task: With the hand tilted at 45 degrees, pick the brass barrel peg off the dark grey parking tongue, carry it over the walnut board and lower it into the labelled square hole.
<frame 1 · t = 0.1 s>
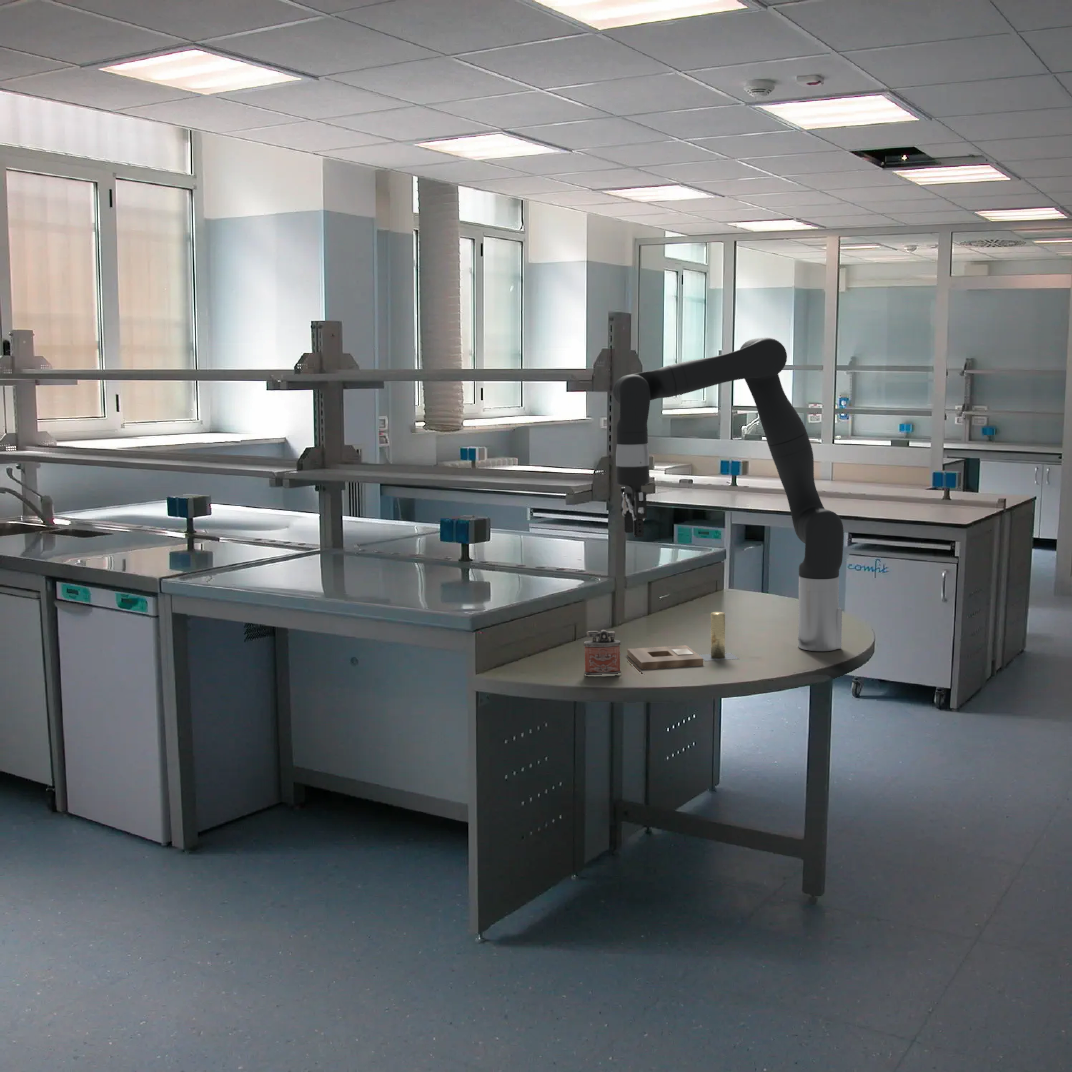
hand: (633, 534, 256), 29 cm above the table, tool pointing down, fingers open, 8 cm apart
hole board: (664, 666, 253), on the table
brass peg: (717, 656, 254), point 1 cm above the table, touching parking tongue
parking tongue: (718, 663, 254), on the table
lighter: (602, 675, 247), on the table
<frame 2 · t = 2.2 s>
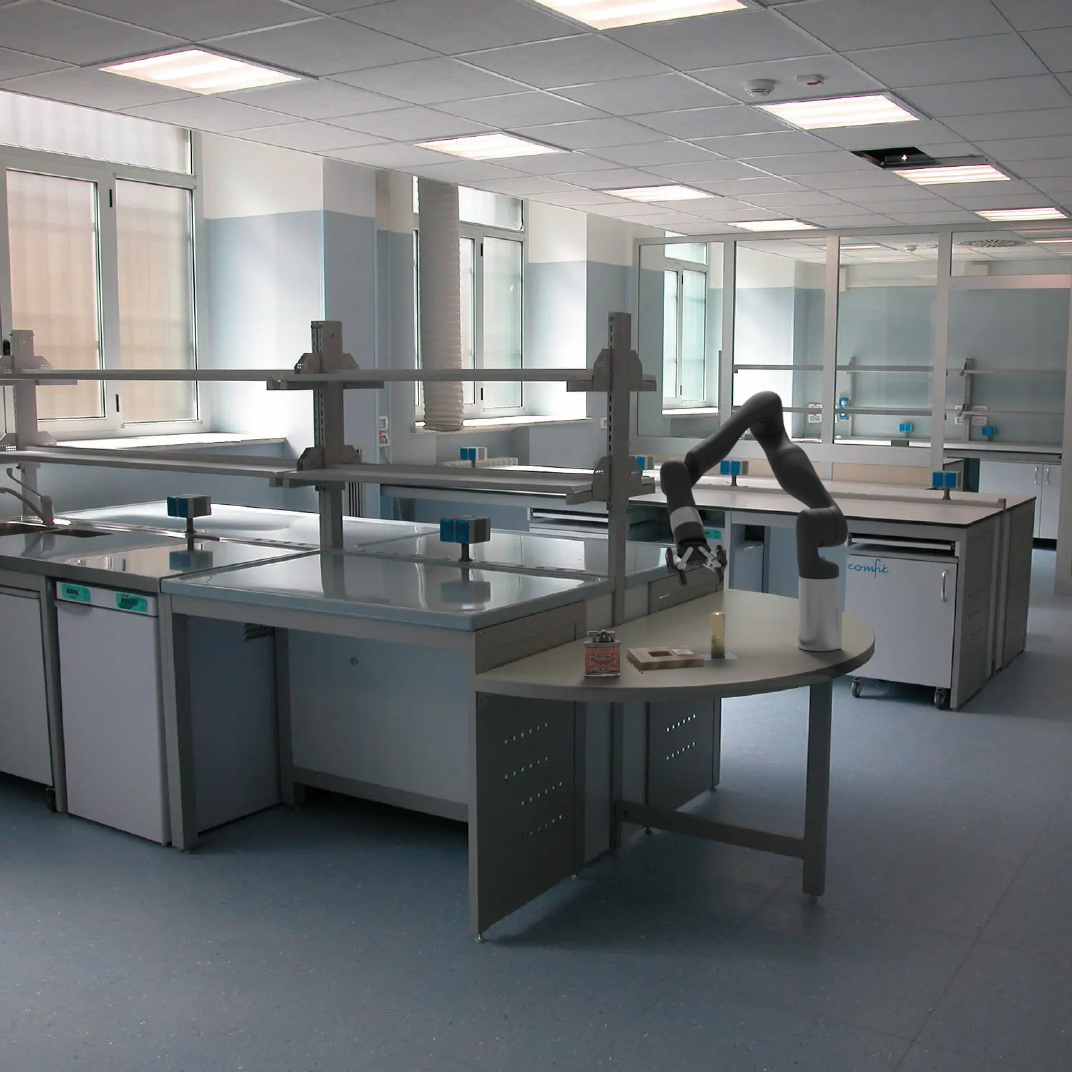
hand: (702, 584, 264), 16 cm above the table, tool tilted 45°, fingers open, 8 cm apart
nothing on the table moved.
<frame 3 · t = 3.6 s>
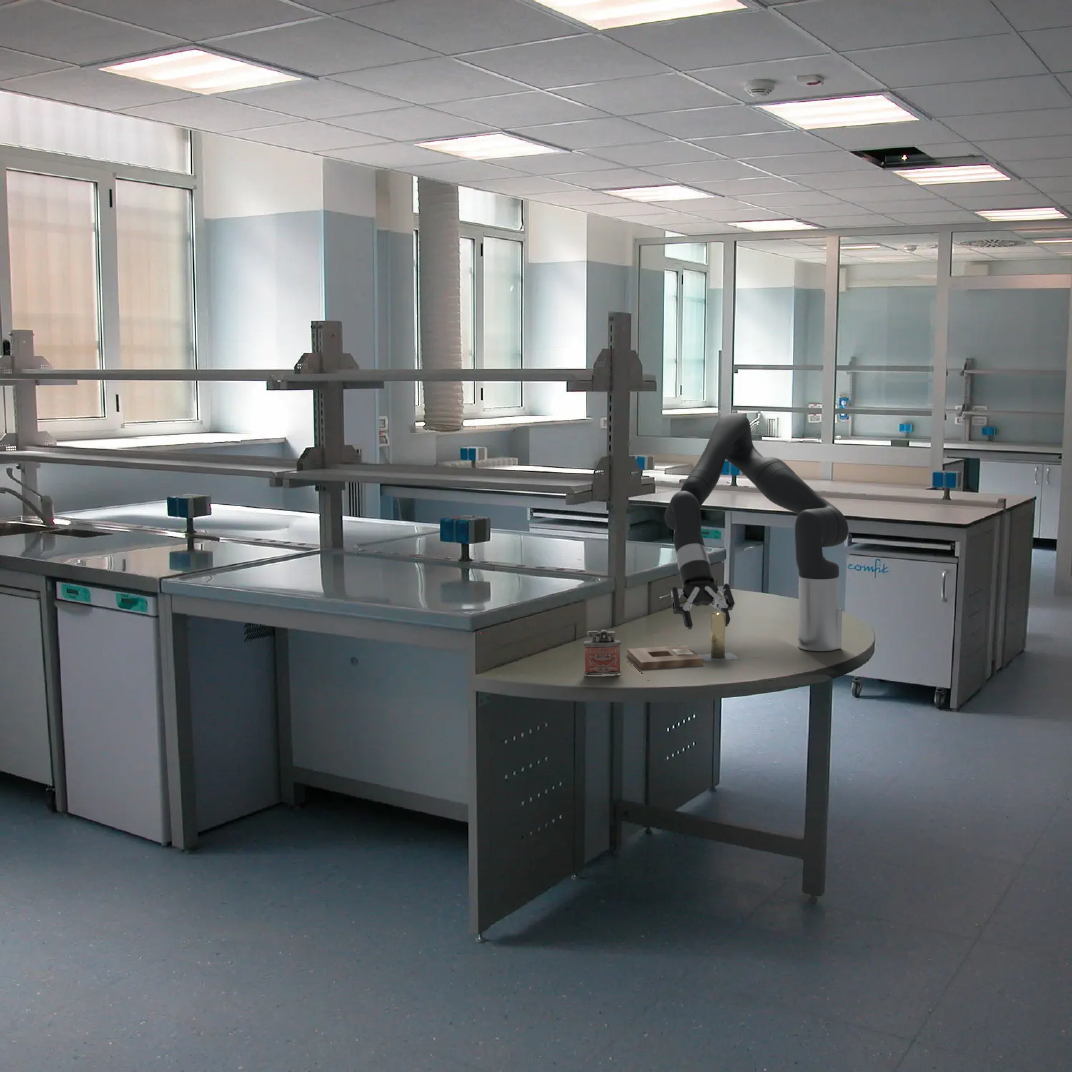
hand: (708, 626, 258), 8 cm above the table, tool tilted 40°, fingers open, 8 cm apart
nothing on the table moved.
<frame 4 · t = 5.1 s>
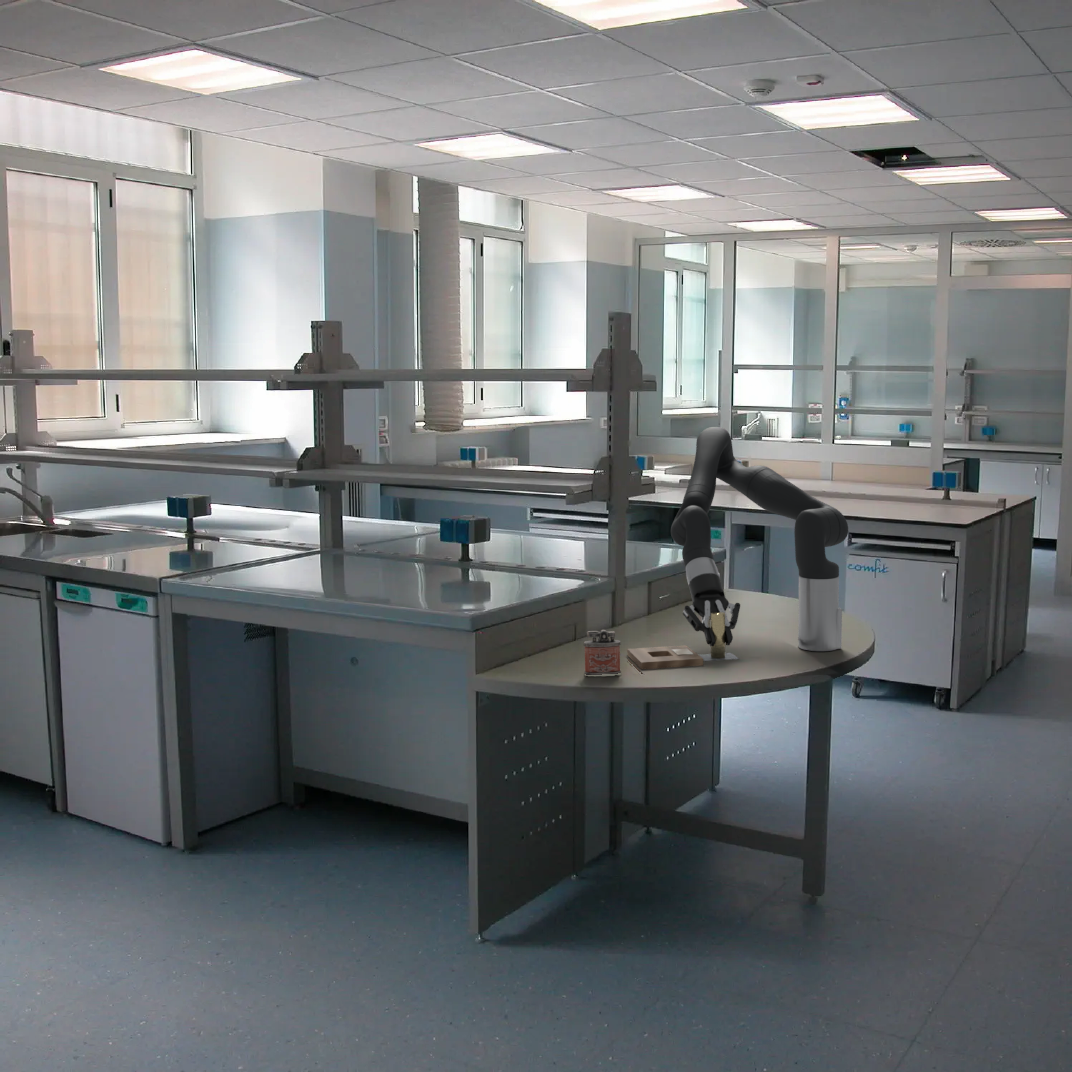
hand: (720, 643, 252), 5 cm above the table, tool tilted 45°, fingers closed on brass peg, 3 cm apart
brass peg: (717, 656, 254), point 2 cm above the table, touching gripper, parking tongue
everything else where it was.
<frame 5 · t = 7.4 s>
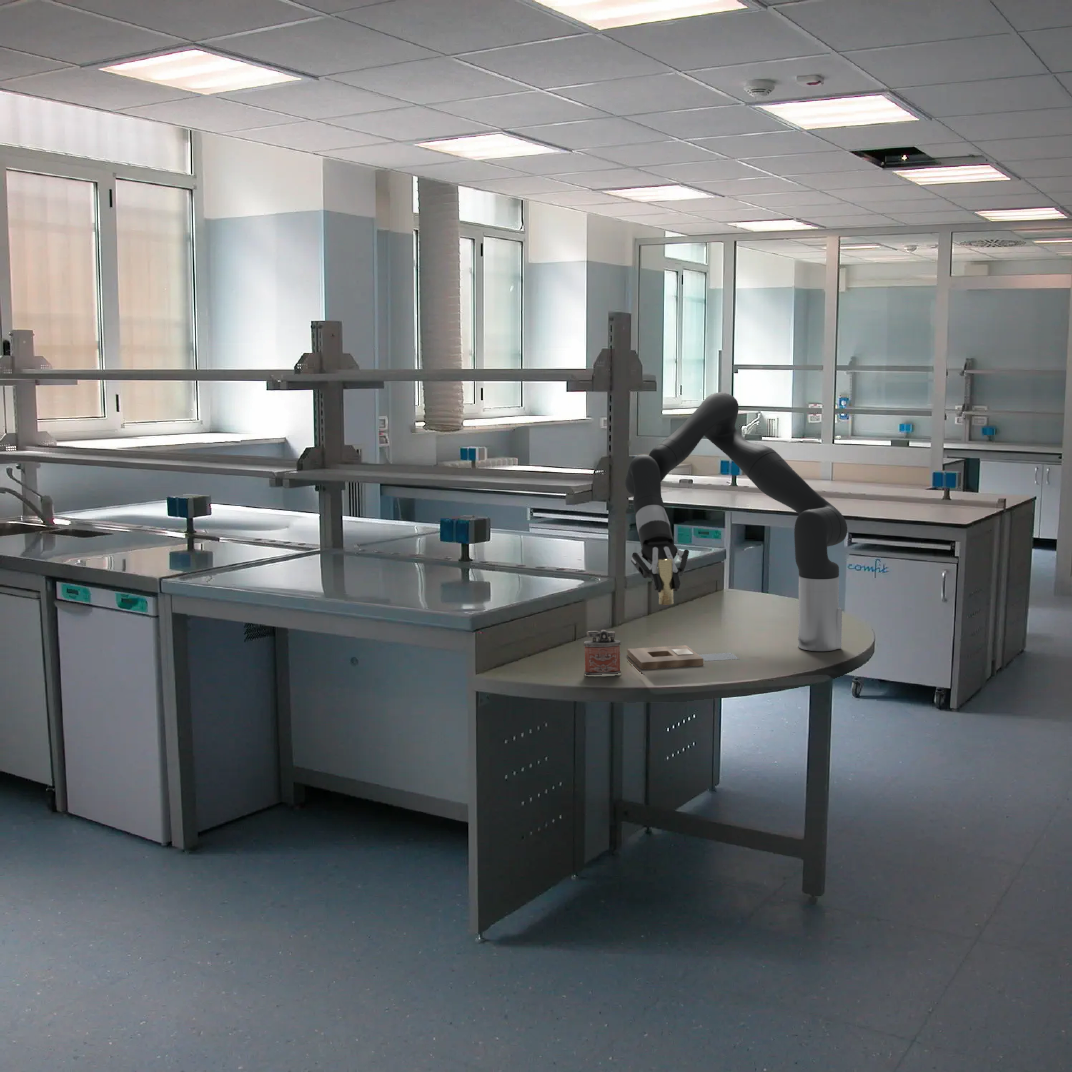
hand: (667, 589, 249), 18 cm above the table, tool tilted 45°, fingers closed on brass peg, 3 cm apart
brass peg: (666, 603, 252), point 14 cm above the table, touching gripper
everything else where it was.
when the fingers open (5 cm above the table, at t = 9.9 s): brass peg drops 1 cm, resting in hole board.
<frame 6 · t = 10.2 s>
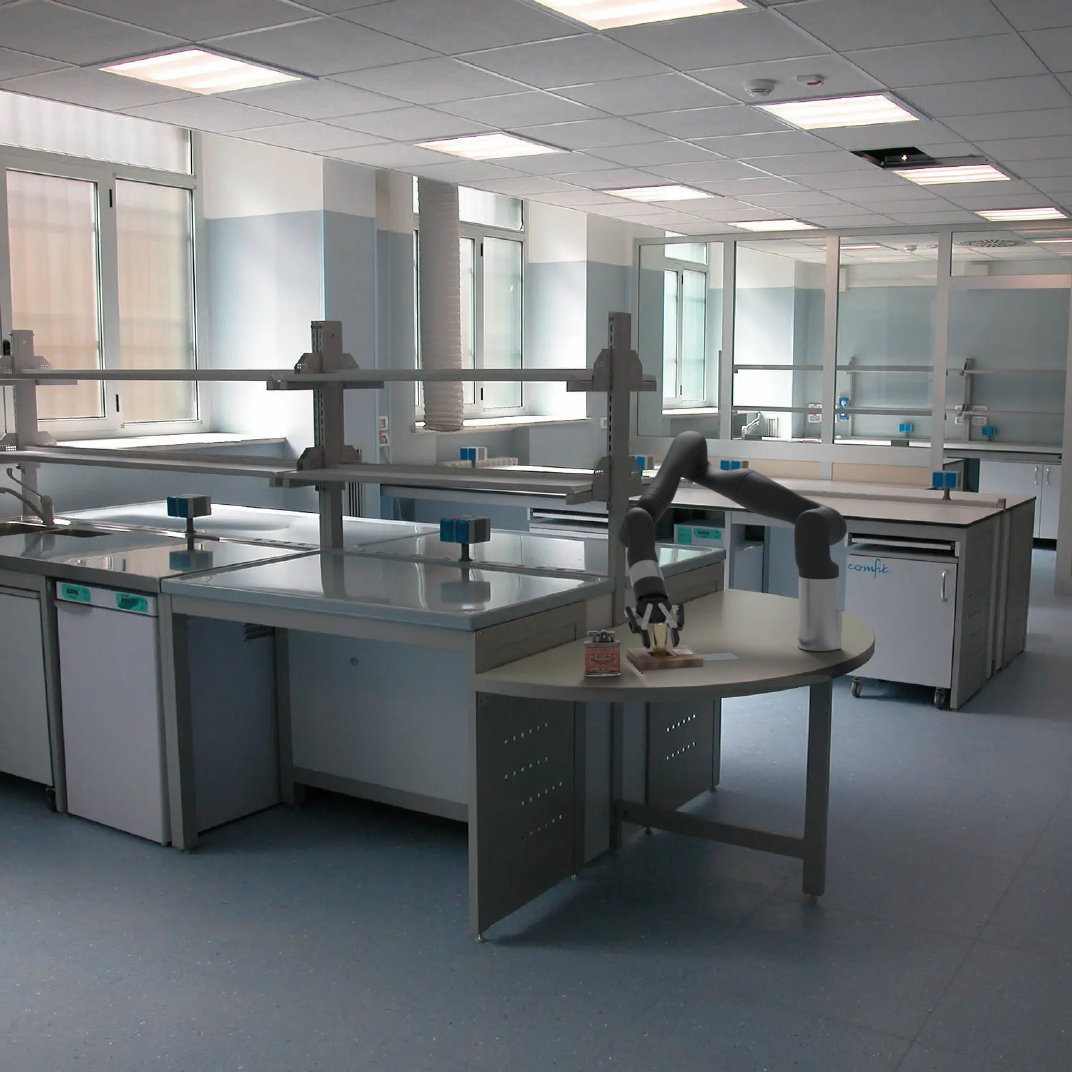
hand: (662, 645, 250), 5 cm above the table, tool tilted 45°, fingers open, 5 cm apart
brass peg: (660, 666, 253), resting in hole board
everything else where it was.
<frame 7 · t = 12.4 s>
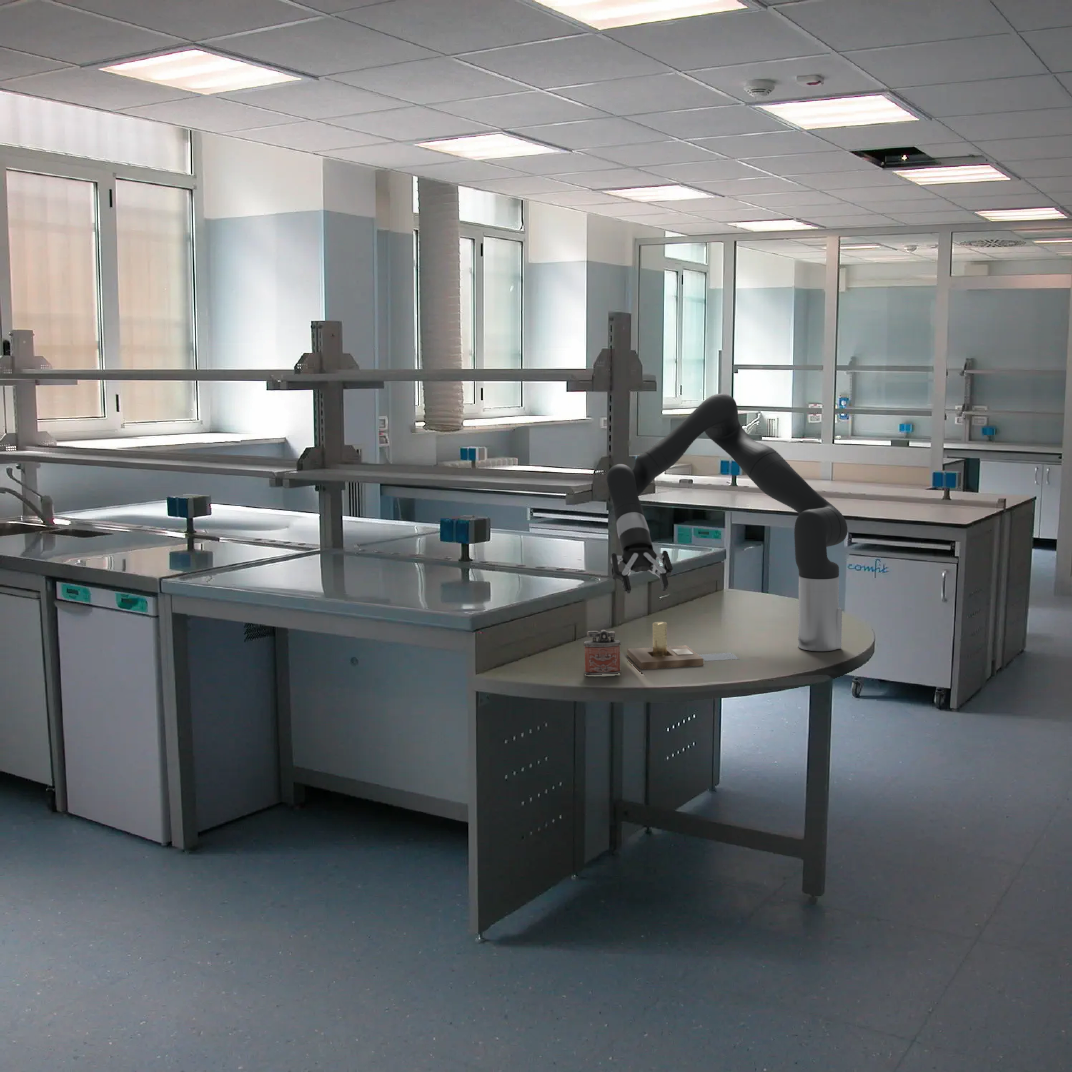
hand: (646, 590, 262), 15 cm above the table, tool tilted 45°, fingers open, 8 cm apart
nothing on the table moved.
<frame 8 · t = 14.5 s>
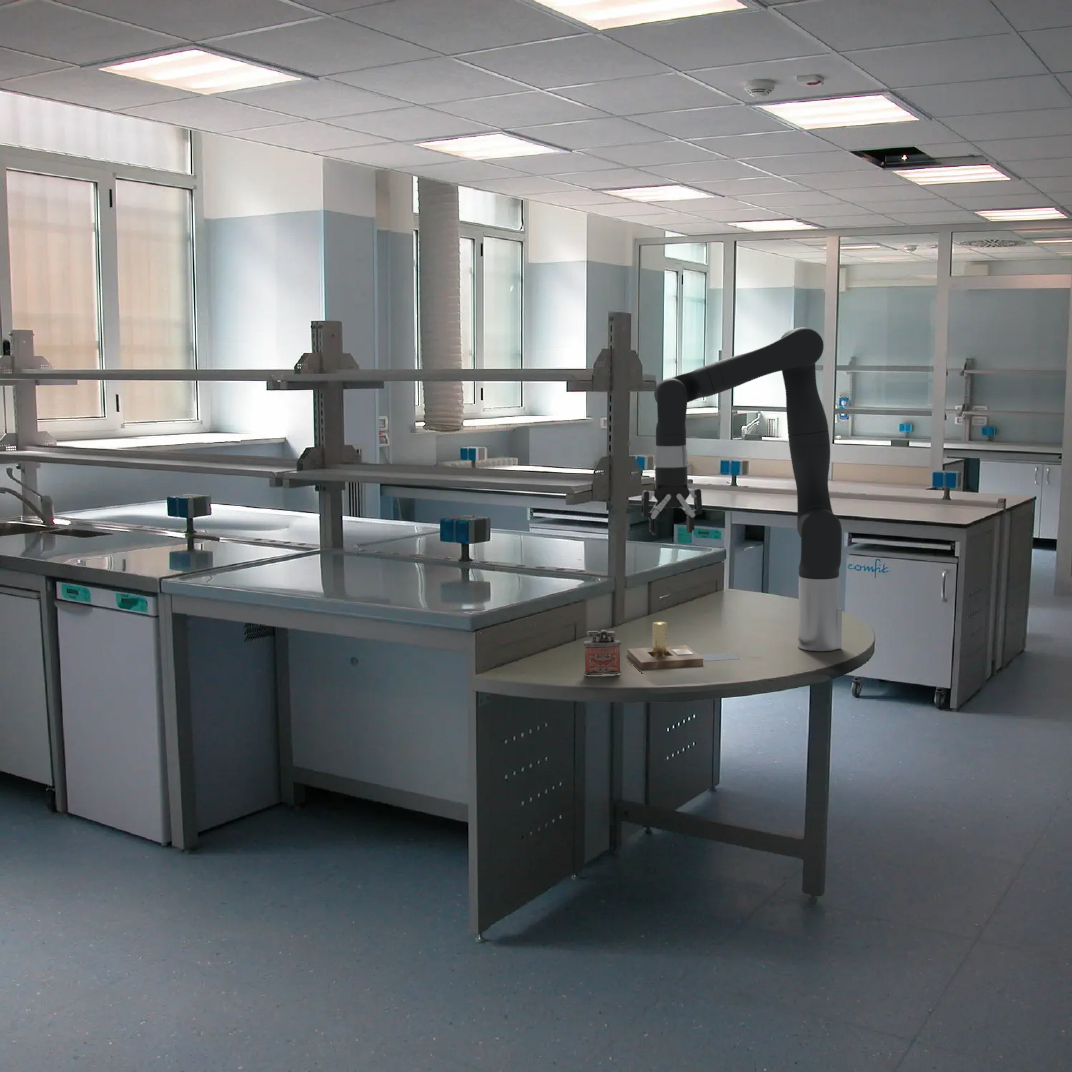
hand: (671, 533, 264), 28 cm above the table, tool pointing down, fingers open, 8 cm apart
nothing on the table moved.
at the end: brass peg 0.1 cm from the target spot on the hole board, point 0.0 cm above the hole board's base; brass peg tilted 0°; the gripper is holding nothing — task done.
